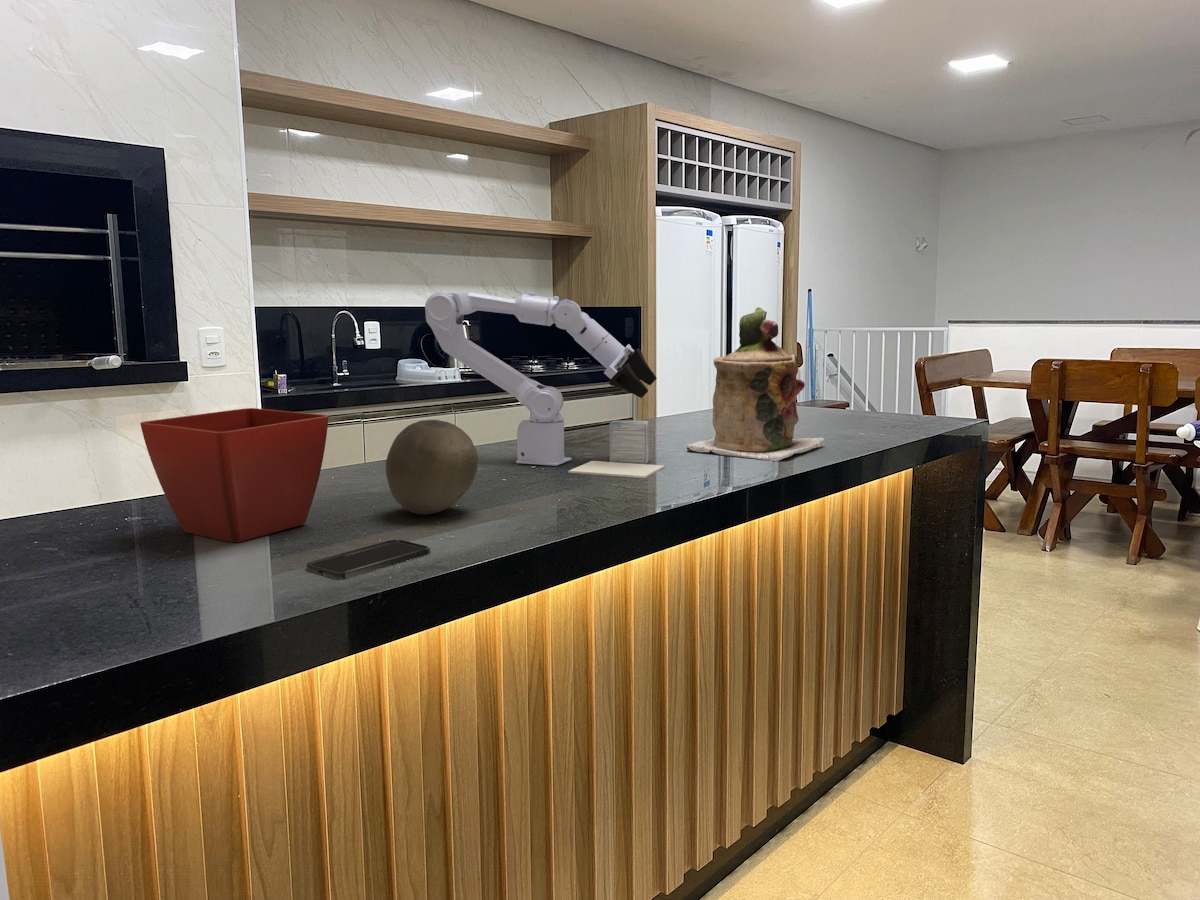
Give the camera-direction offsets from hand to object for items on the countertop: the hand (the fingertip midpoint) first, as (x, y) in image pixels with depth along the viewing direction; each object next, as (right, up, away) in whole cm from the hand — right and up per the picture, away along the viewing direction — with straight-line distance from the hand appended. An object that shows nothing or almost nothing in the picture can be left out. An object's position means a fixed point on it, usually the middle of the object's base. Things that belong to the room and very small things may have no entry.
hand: (649, 388), depth 185 cm
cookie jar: (+25, -13, +19) cm, 34 cm away
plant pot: (-63, -25, -50) cm, 85 cm away
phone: (-40, -28, -67) cm, 83 cm away
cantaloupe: (-37, -23, -41) cm, 60 cm away
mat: (-7, -17, -5) cm, 19 cm away
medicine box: (-4, -16, +3) cm, 16 cm away
